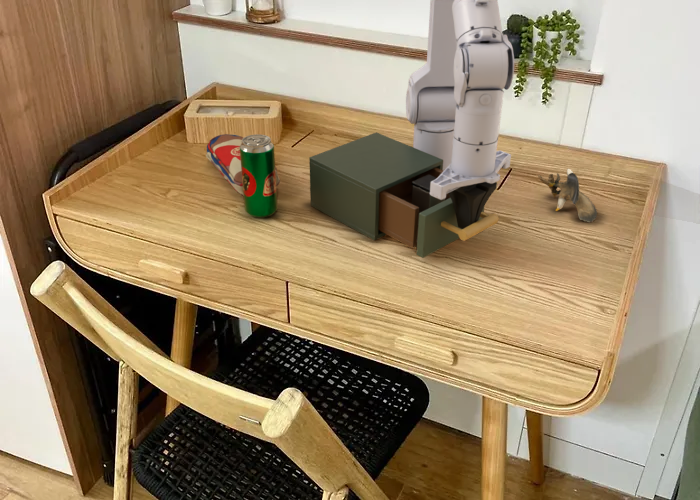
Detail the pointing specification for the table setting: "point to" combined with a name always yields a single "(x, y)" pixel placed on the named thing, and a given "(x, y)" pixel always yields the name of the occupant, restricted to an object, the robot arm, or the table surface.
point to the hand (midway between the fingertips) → (466, 227)
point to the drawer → (424, 219)
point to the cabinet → (363, 178)
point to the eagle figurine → (571, 195)
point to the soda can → (258, 175)
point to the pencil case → (229, 159)
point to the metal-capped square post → (424, 194)
